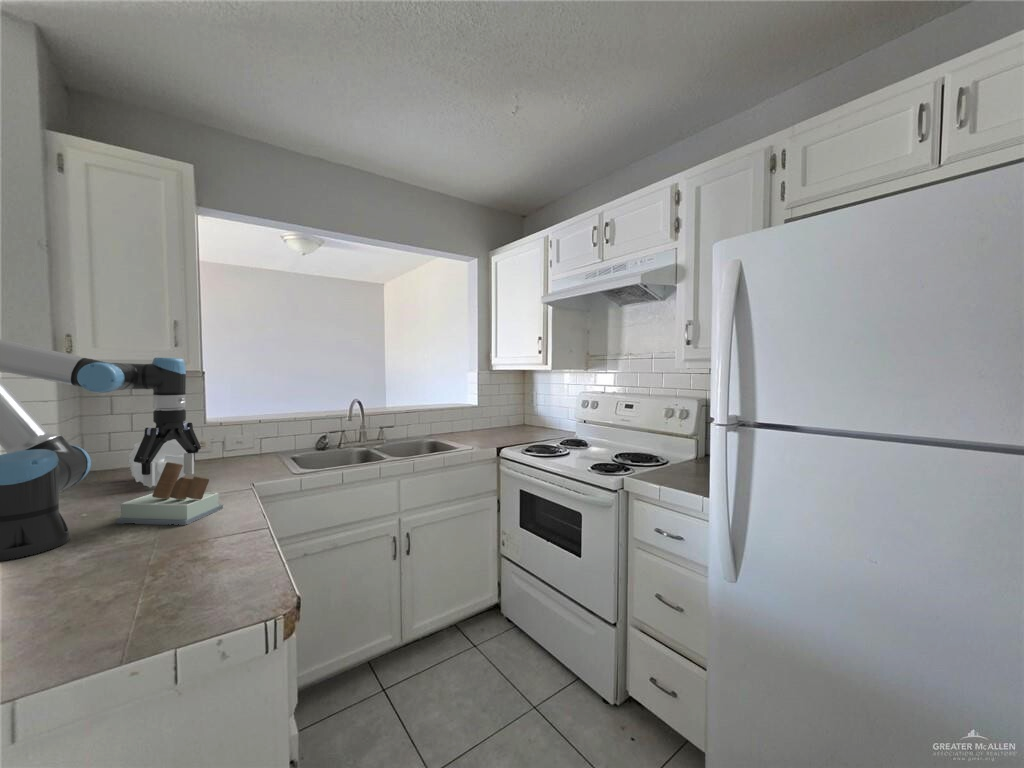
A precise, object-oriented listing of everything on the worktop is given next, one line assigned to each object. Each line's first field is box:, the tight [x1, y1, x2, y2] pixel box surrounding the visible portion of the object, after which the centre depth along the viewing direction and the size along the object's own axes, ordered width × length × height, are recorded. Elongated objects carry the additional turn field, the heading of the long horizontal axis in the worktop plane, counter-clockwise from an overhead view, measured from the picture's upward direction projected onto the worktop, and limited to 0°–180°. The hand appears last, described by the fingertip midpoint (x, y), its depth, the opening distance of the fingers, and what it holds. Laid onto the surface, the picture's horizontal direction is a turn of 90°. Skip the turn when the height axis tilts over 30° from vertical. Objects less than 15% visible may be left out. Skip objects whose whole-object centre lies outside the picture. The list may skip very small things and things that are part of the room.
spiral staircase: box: [127, 438, 188, 489], centre depth 160 cm, size 18×18×25 cm
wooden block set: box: [152, 462, 210, 500], centre depth 125 cm, size 18×9×10 cm, turn 67°
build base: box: [115, 492, 224, 526], centre depth 124 cm, size 14×21×5 cm, turn 87°
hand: (170, 479), depth 124 cm, fingers open, 13 cm apart
